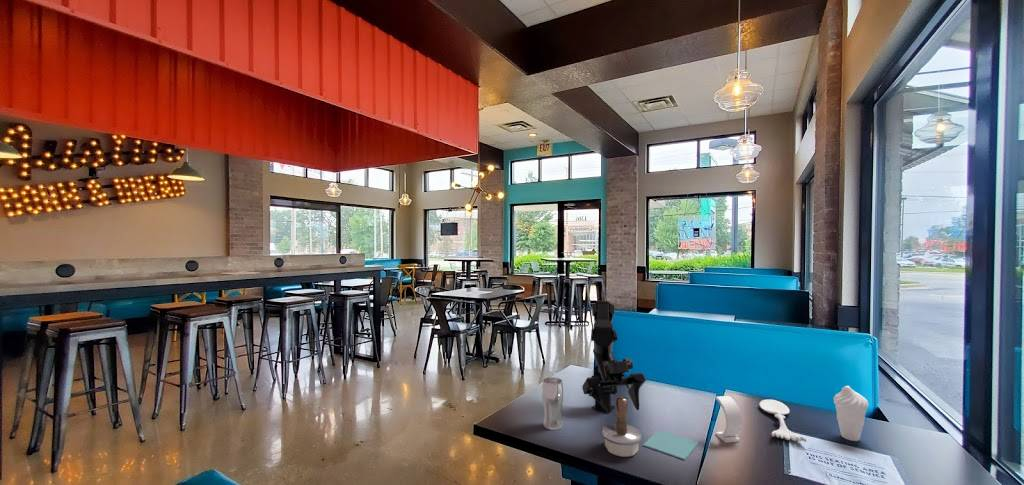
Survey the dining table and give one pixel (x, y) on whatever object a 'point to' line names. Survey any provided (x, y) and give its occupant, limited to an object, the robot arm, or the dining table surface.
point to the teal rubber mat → (671, 444)
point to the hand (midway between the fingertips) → (623, 411)
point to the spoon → (780, 419)
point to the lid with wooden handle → (621, 426)
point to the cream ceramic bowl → (622, 449)
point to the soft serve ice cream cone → (850, 413)
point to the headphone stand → (730, 419)
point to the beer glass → (552, 402)
